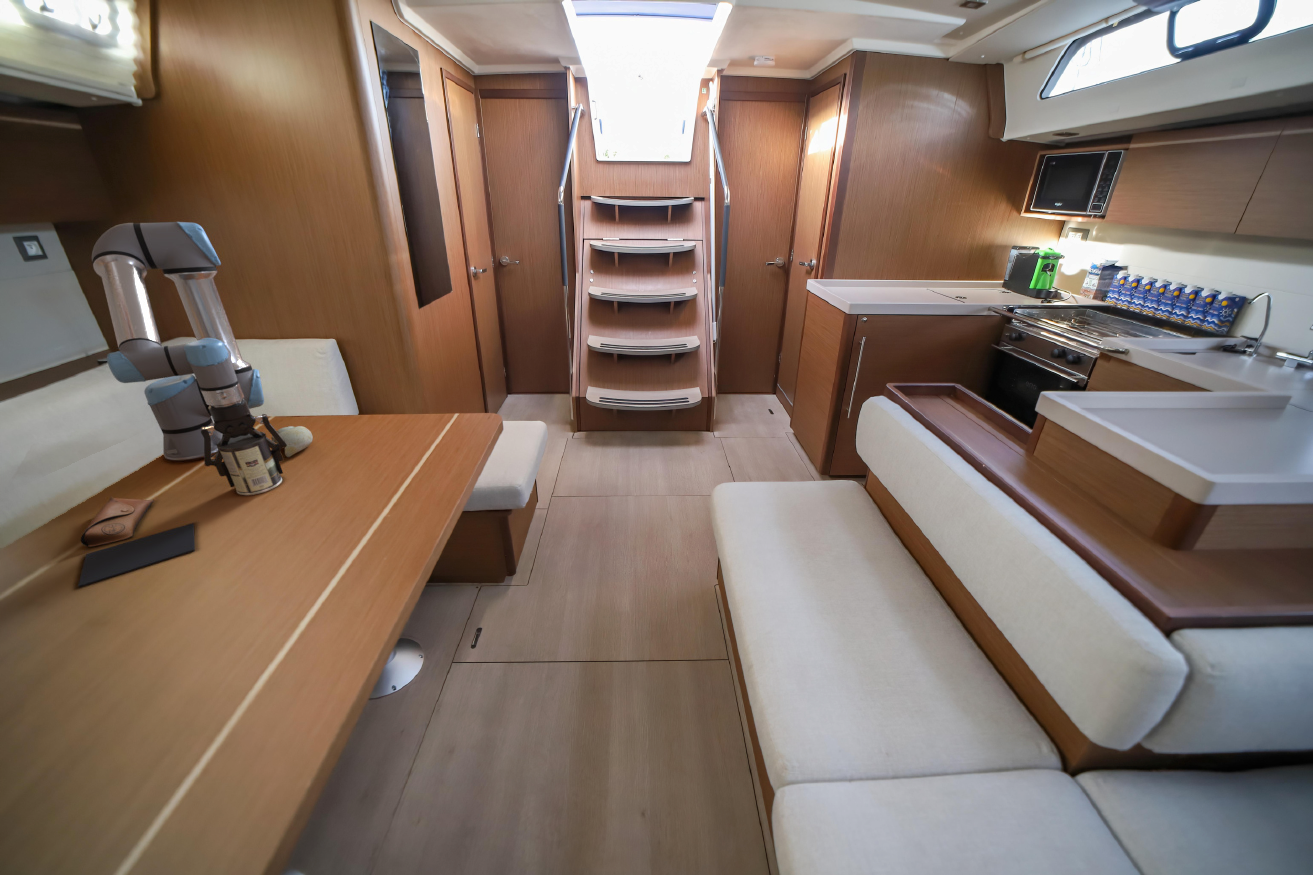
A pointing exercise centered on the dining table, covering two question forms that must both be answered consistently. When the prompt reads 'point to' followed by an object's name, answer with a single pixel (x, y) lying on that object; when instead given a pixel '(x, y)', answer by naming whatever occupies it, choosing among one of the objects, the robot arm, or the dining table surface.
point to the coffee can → (250, 464)
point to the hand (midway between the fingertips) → (257, 478)
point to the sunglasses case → (115, 521)
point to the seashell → (294, 439)
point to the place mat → (137, 554)
